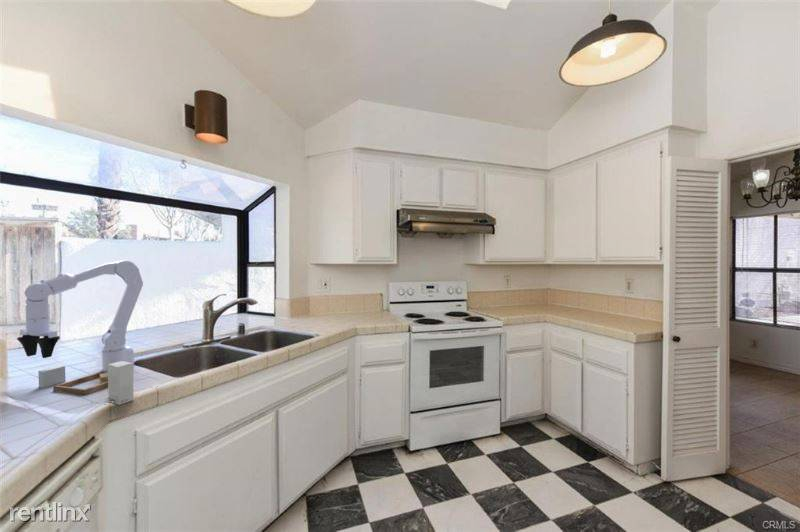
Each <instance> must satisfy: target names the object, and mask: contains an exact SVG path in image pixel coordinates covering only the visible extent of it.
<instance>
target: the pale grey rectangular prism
mask: <svg viewBox="0 0 800 532" xmlns="http://www.w3.org/2000/svg"><path fill="white" fill-rule="evenodd" d="M37 375H38V388H41V389H45V388H48V387H52V386H56V385H59V384H62V383H65V382H67V381H66V366H65V365H56V366H54V367H53V366H52V367H49V368H45V369H41V370H38V374H37Z"/></svg>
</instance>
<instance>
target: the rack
mask: <svg viewBox="0 0 800 532" xmlns="http://www.w3.org/2000/svg"><path fill="white" fill-rule="evenodd" d="M107 372H108V371H103V370H102V371H98V372H95V373H92V374H88V375H85V376H82V377H78V378H76V379H73V380H69V381H66V382H62V383H59V384H56V385H52V386H53V387H52V390H53V392H60V393H66V394H72V395H73V394H74V395H80V396H86V395H89V394H92V393H96V392H97V391H101V390H103V389H106V388H108V382H105V383H98V384H95V385H93V386H91V387H87V388H82V387H81V388H80V387H74V386H77V385H79V384H83V383H86V382H89V381H91V380H95V379H98V378H100V374H102V373H107Z"/></svg>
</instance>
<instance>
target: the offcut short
mask: <svg viewBox="0 0 800 532" xmlns="http://www.w3.org/2000/svg"><path fill="white" fill-rule="evenodd" d="M99 379H100V381H101V382H100V384H102V383H105V382H108V372H107V373H102V374H100V377H99Z"/></svg>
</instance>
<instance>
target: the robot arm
mask: <svg viewBox="0 0 800 532" xmlns="http://www.w3.org/2000/svg"><path fill="white" fill-rule="evenodd" d="M102 275H103V276H104V275H111V276H112V275H113V276H115V275H117V276H118V277H120V278H121V279H122V280H123V282H124V283H125V284H126V287H125V290H124V293H123V296H122V298H121V300H120V303H119V305H118V307H117V310H116V312H115V316H114V318H113V320H112V323H111V324H110V326H109V327H108V329H107V331H106V332H105V333H104V334H103V335H102V337H101V342H102V344H103V345H104V347H102V348H101V367H102V368H101V370H102V371H108V364H112V363H116V362H120V361H125V362H129V363H133V365H135V353H134V352H135V351H134V349H133V348H132V347H131V346H128V345H127V346H126V334H127V329H128V325H129V321H130V319H131V316H132V314H133V312H134V309H135V307H136V303H137V301H138V298H139V297H140V293H141V291H142V289H143V286H144V281H143V279H142V276H141V273H140V268H139V267H138V266H137V265H136V264H135V263H134V262H132V261H131V260H123V259H121V260H117V261H113V262H109V263H108V262H107V263H104V264H103V263H102V264H100V265H98V266H95V267H92V268H90V269H86V270H83V271H82V272H78V273H76V274H70V273H64V274H63V273H58V274H57V276H53V277H51V278H49V279H46V280H44V279H40V281H39V282H40V283H32V284H30V285H28V286H27V287H26V288H25V290H24V295H25V298H26V299H25V304H26V305H25V328H24V329H20V330H19V332H20V333H19V334H20V337H19V336H18V337H17V338H16V339H17V341H18V342H19V343H20V344H21V346H22V347H23V349H24V352H25V355H26V356H27V358H28V357H33V356H36V355H37V351H38V346H39V348H40V352H41V357H42V359H47V358H50V357H52V355H53V353H54V348H55V347H56V345H57V342H59V340H60V339H61V338H60V335H58V331H57V330H53V329H52V328H51V315H50V314H51V313H50V304H49V297H50V295H51V296H55V295H58V294H61V293H63V292H67V291H69V290H72V289H75V288H77V286H78V284H79V283H81V282H84V281H87V280H90V279H94V278H97V277H100V276H102Z"/></svg>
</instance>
